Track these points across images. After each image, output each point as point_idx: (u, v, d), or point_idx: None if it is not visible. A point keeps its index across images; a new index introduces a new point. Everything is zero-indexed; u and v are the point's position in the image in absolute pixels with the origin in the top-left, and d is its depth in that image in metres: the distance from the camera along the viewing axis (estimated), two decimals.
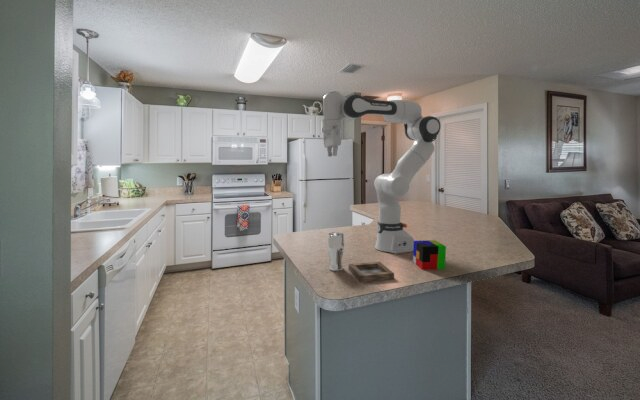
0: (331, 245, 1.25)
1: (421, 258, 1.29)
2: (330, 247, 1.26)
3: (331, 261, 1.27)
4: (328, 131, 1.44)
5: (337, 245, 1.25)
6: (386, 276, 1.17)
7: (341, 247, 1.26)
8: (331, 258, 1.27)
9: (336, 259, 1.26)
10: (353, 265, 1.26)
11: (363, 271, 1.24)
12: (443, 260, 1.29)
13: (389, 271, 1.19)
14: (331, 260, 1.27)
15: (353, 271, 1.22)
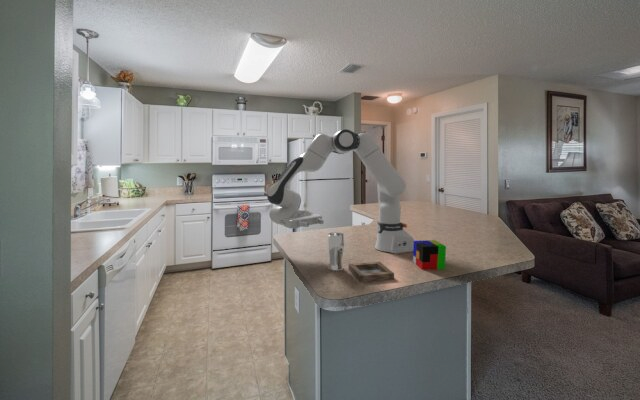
0: (331, 245, 1.25)
1: (421, 258, 1.29)
2: (330, 247, 1.26)
3: (331, 261, 1.27)
4: None
5: (337, 245, 1.25)
6: (386, 276, 1.17)
7: (341, 247, 1.26)
8: (331, 258, 1.27)
9: (336, 259, 1.26)
10: (353, 265, 1.26)
11: (363, 271, 1.24)
12: (443, 260, 1.29)
13: (389, 271, 1.19)
14: (331, 260, 1.27)
15: (353, 271, 1.22)
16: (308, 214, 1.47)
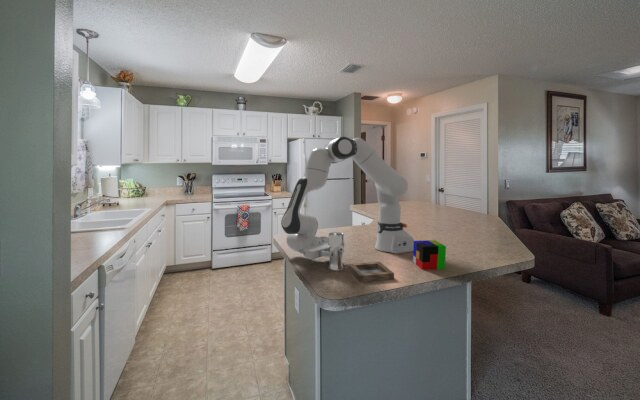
0: (331, 245, 1.25)
1: (421, 258, 1.29)
2: (330, 247, 1.26)
3: (331, 261, 1.27)
4: None
5: (337, 245, 1.25)
6: (386, 276, 1.17)
7: (341, 247, 1.26)
8: (331, 258, 1.27)
9: (336, 259, 1.26)
10: (353, 265, 1.26)
11: (363, 271, 1.24)
12: (443, 260, 1.29)
13: (389, 271, 1.19)
14: (331, 260, 1.27)
15: (353, 271, 1.22)
16: None
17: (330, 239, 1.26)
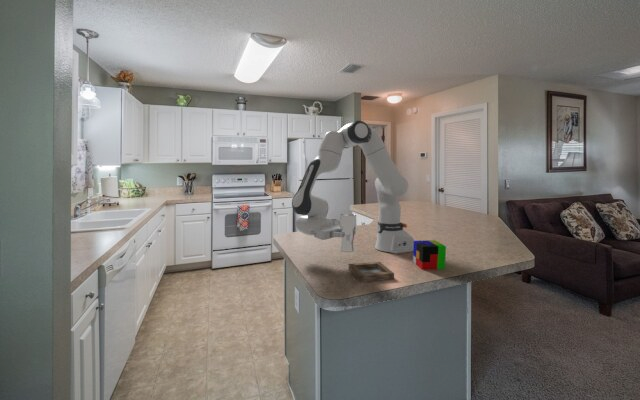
0: (343, 225, 1.23)
1: (421, 258, 1.29)
2: (342, 227, 1.23)
3: (342, 242, 1.24)
4: None
5: (349, 225, 1.22)
6: (386, 276, 1.17)
7: (353, 227, 1.23)
8: (343, 239, 1.24)
9: (347, 240, 1.23)
10: (353, 265, 1.26)
11: (363, 271, 1.24)
12: (443, 260, 1.29)
13: (389, 271, 1.19)
14: (342, 241, 1.24)
15: (353, 271, 1.22)
16: (338, 223, 1.36)
17: (342, 219, 1.23)
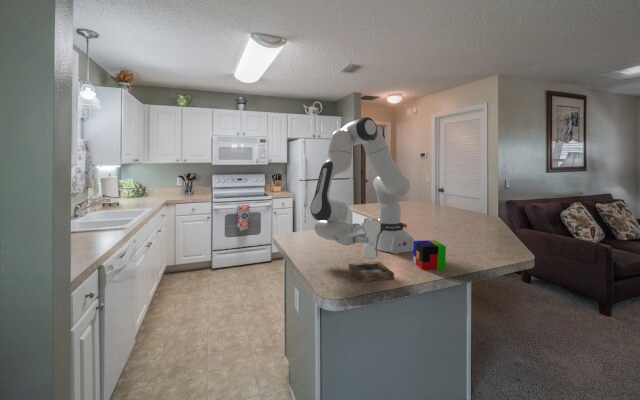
0: (367, 230, 1.18)
1: (421, 258, 1.29)
2: (366, 232, 1.19)
3: (366, 248, 1.20)
4: None
5: (374, 230, 1.18)
6: (386, 276, 1.17)
7: (377, 233, 1.19)
8: (366, 245, 1.20)
9: (371, 245, 1.19)
10: (353, 265, 1.26)
11: (363, 271, 1.24)
12: (443, 260, 1.29)
13: (389, 271, 1.19)
14: (366, 247, 1.20)
15: (353, 271, 1.22)
16: (360, 228, 1.32)
17: (366, 224, 1.19)
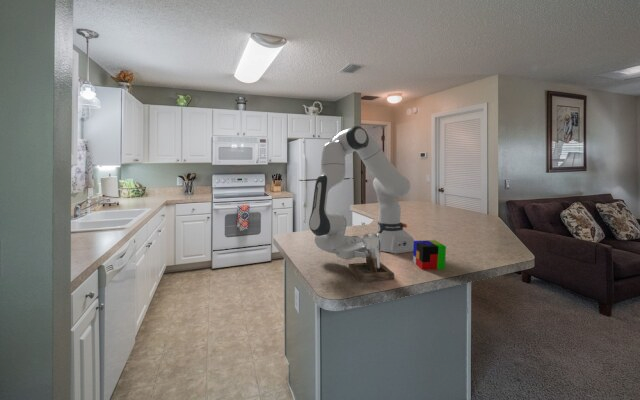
0: (368, 248, 1.19)
1: (421, 258, 1.29)
2: (367, 250, 1.20)
3: (369, 264, 1.22)
4: None
5: (374, 248, 1.19)
6: (386, 276, 1.17)
7: (378, 249, 1.20)
8: (369, 261, 1.22)
9: (374, 261, 1.21)
10: (353, 265, 1.26)
11: (363, 271, 1.24)
12: (443, 260, 1.29)
13: (389, 271, 1.19)
14: (368, 263, 1.22)
15: (353, 271, 1.22)
16: (360, 240, 1.33)
17: (366, 242, 1.20)
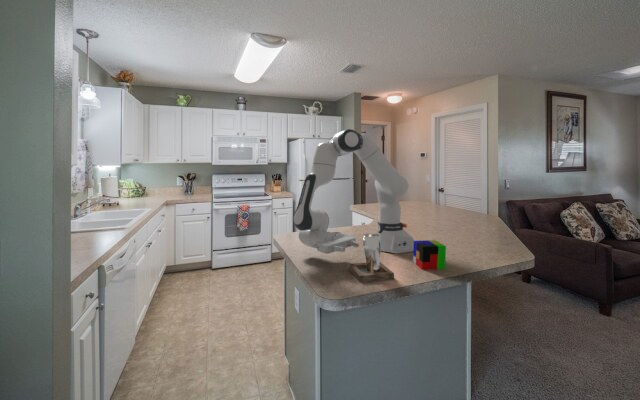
0: (368, 247, 1.20)
1: (421, 258, 1.29)
2: (367, 249, 1.21)
3: (369, 264, 1.22)
4: None
5: (374, 246, 1.20)
6: (386, 276, 1.17)
7: (378, 248, 1.21)
8: (369, 261, 1.22)
9: (374, 261, 1.21)
10: (353, 265, 1.26)
11: (363, 271, 1.24)
12: (443, 260, 1.29)
13: (389, 271, 1.19)
14: (369, 262, 1.22)
15: (353, 271, 1.22)
16: (341, 236, 1.40)
17: (366, 241, 1.21)
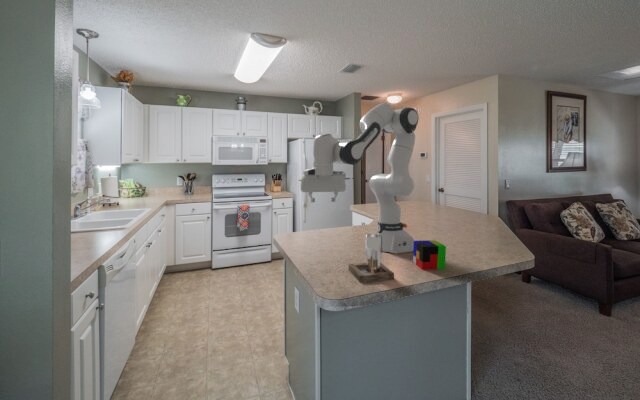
0: (370, 247, 1.20)
1: (421, 258, 1.29)
2: (369, 249, 1.21)
3: (369, 264, 1.22)
4: (329, 176, 1.34)
5: (376, 247, 1.20)
6: (386, 276, 1.17)
7: (380, 249, 1.21)
8: (370, 261, 1.22)
9: (375, 261, 1.21)
10: (353, 265, 1.26)
11: (363, 271, 1.24)
12: (443, 260, 1.29)
13: (389, 271, 1.19)
14: (369, 263, 1.22)
15: (353, 271, 1.22)
16: None
17: (369, 241, 1.21)
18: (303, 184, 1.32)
